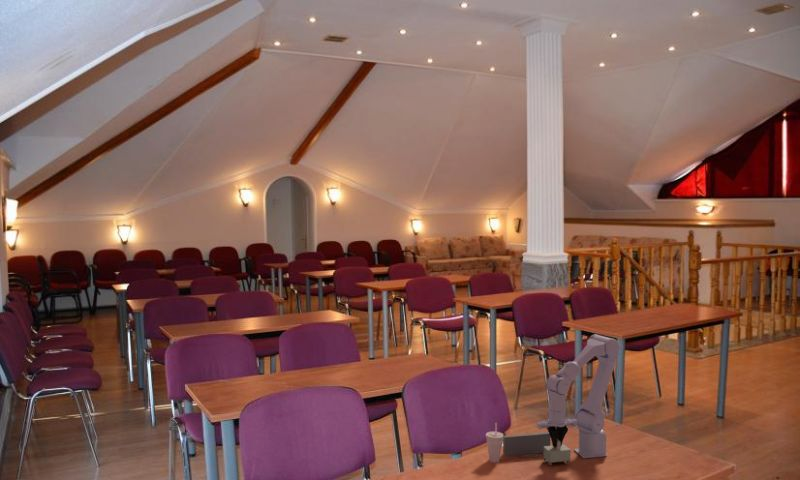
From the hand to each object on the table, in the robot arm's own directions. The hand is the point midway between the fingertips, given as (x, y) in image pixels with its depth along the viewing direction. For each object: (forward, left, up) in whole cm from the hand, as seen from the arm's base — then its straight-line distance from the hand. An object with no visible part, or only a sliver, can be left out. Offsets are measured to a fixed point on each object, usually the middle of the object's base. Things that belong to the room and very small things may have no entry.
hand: (556, 446), depth 245 cm
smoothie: (+21, -7, -6) cm, 23 cm away
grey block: (0, 0, -6) cm, 6 cm away
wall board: (+7, -9, -6) cm, 13 cm away
